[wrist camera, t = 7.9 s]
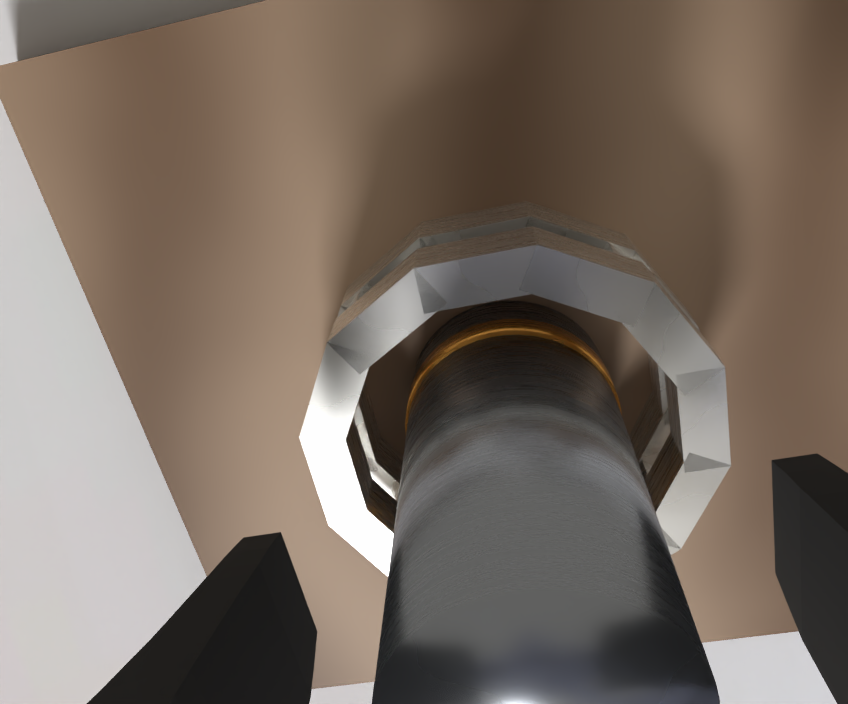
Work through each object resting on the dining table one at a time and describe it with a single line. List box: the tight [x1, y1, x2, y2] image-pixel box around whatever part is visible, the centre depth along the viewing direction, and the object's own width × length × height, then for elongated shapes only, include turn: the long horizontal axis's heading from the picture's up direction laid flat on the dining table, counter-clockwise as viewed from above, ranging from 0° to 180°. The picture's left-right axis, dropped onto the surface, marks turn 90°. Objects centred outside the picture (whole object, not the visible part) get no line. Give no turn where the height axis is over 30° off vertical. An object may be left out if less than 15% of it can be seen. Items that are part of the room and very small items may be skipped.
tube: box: [372, 301, 720, 704], centre depth 13 cm, size 4×4×8 cm
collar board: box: [0, 0, 848, 689], centre depth 17 cm, size 16×16×1 cm
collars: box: [299, 201, 731, 576], centre depth 15 cm, size 7×7×3 cm
